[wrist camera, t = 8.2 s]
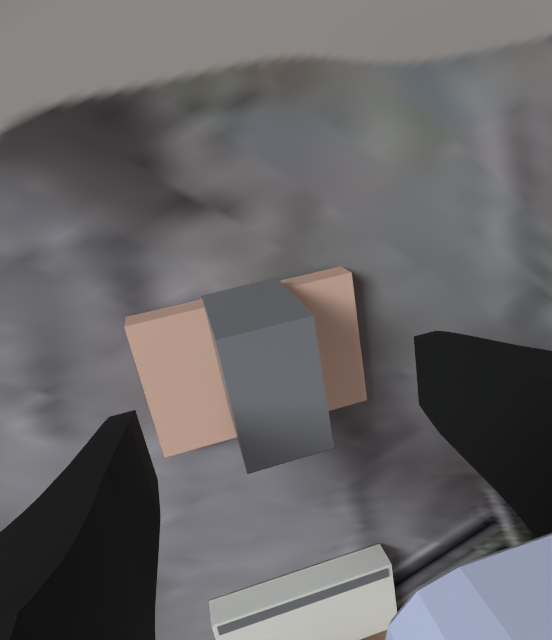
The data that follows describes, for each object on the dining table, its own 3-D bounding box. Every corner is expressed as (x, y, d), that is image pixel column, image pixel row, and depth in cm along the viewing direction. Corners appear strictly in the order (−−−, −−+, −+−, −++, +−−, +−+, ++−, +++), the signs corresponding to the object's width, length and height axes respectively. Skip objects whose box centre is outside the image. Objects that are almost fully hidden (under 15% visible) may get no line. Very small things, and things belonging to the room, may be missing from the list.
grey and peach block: (339, 255, 17) (407, 292, 12) (356, 388, 19) (421, 463, 14) (122, 305, 16) (108, 366, 11) (164, 441, 18) (166, 542, 13)
